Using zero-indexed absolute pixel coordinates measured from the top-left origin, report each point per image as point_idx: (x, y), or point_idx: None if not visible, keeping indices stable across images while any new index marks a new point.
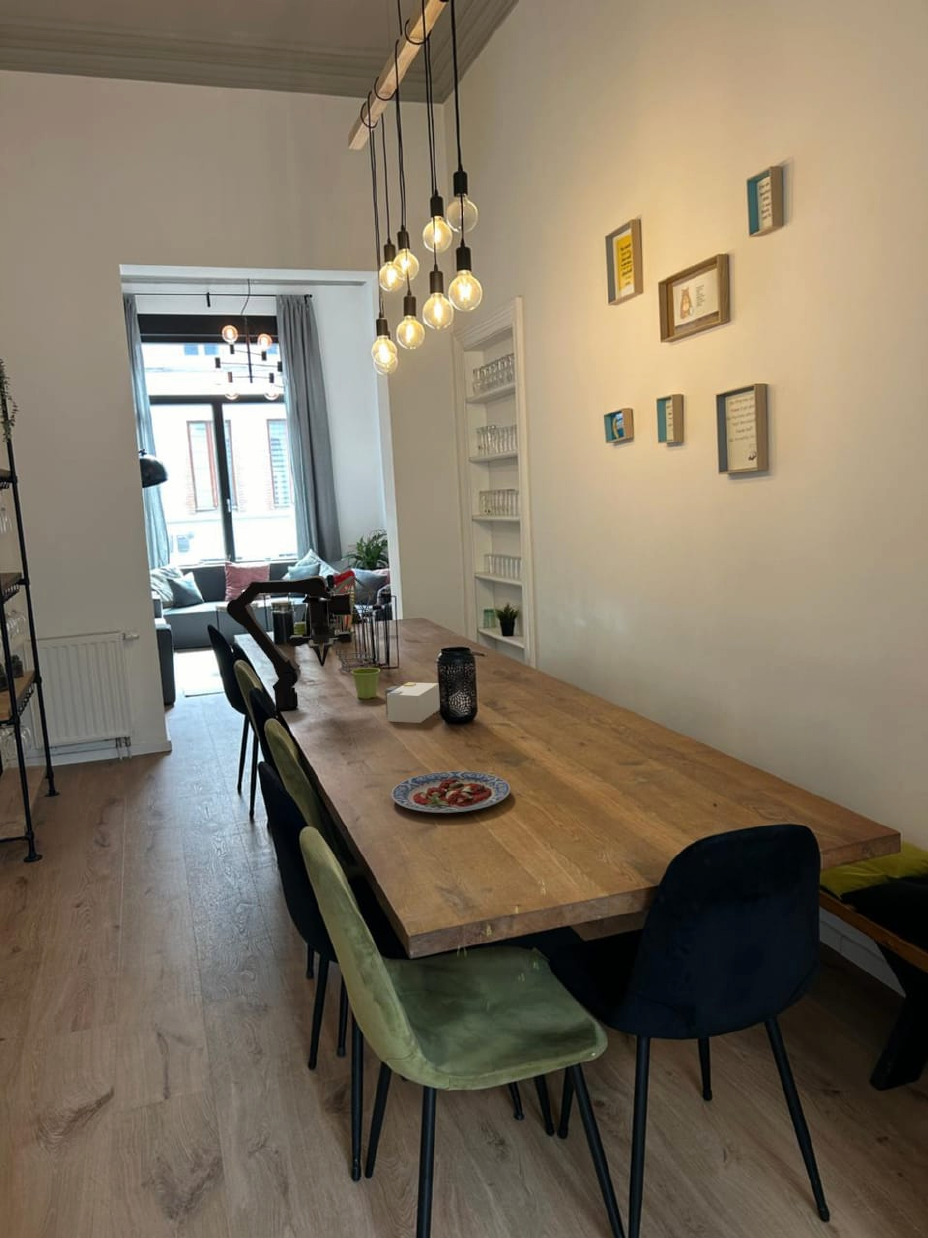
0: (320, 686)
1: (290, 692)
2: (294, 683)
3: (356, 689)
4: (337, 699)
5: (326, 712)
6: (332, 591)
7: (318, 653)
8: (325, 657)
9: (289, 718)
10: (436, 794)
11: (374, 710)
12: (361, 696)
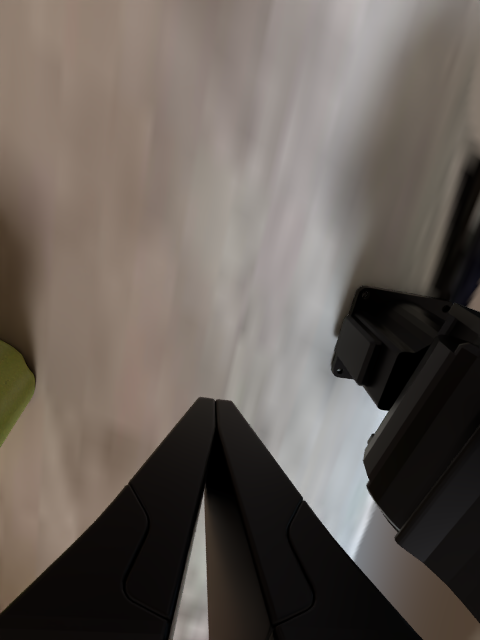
0: None
1: (423, 338)
2: (445, 337)
3: (17, 403)
4: (136, 391)
5: (234, 152)
6: None
7: (296, 571)
8: (148, 468)
9: (448, 125)
10: None
11: None
12: (10, 352)
